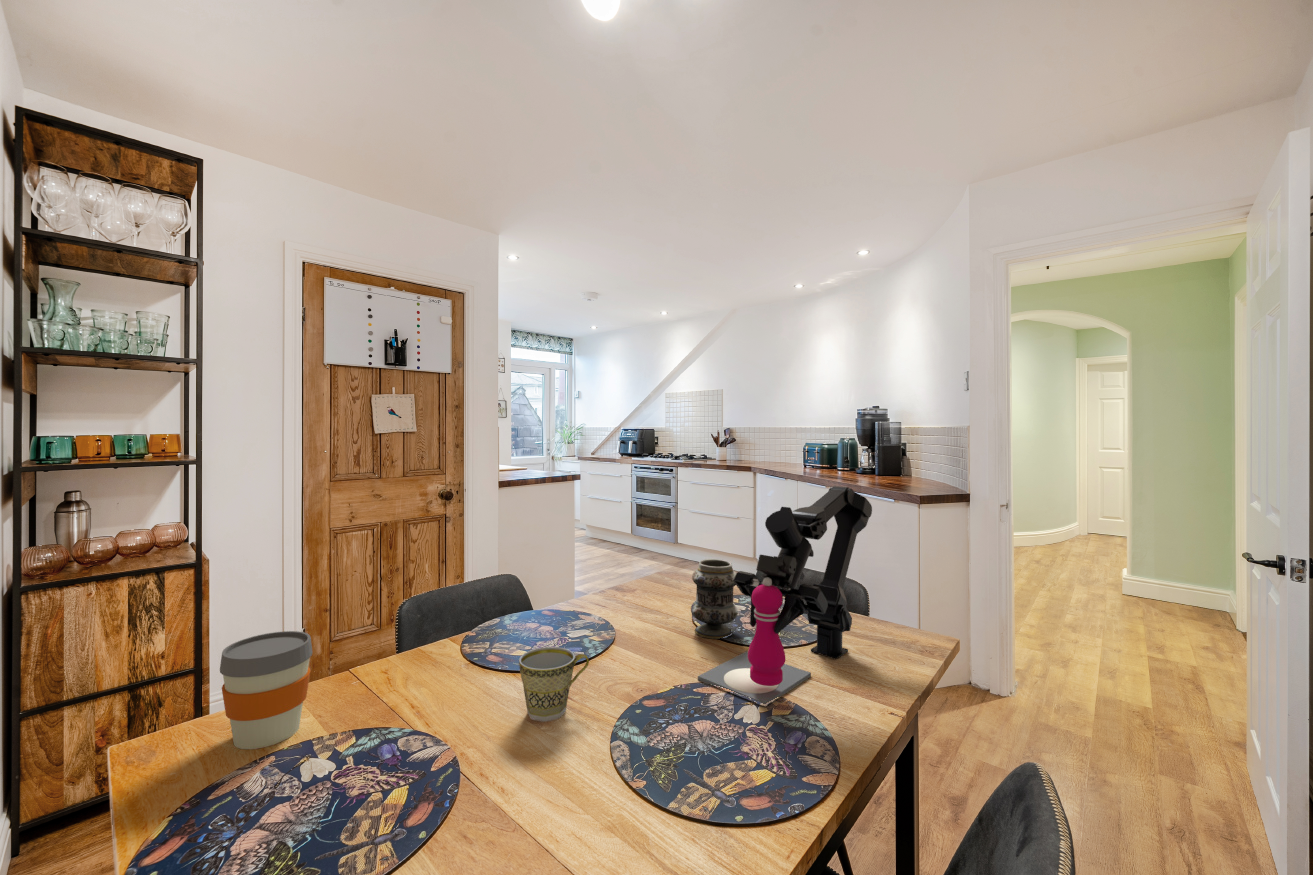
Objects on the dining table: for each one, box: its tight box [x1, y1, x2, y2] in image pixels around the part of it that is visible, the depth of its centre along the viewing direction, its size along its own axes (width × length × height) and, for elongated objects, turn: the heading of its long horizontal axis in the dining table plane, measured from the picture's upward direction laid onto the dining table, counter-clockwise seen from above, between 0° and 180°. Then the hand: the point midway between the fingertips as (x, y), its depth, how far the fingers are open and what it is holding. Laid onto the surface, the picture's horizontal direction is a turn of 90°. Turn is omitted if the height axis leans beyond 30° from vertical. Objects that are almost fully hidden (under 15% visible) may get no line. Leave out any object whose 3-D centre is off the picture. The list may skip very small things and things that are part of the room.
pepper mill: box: [747, 577, 786, 686], centre depth 105 cm, size 7×7×20 cm
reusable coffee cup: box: [219, 630, 313, 750], centre depth 90 cm, size 13×13×15 cm
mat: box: [697, 650, 812, 704], centre depth 113 cm, size 18×16×1 cm
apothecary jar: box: [690, 558, 739, 640], centre depth 138 cm, size 12×12×18 cm
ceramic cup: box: [518, 646, 590, 723], centre depth 99 cm, size 13×10×10 cm
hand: (763, 629), depth 104 cm, fingers closed on pepper mill, 5 cm apart
